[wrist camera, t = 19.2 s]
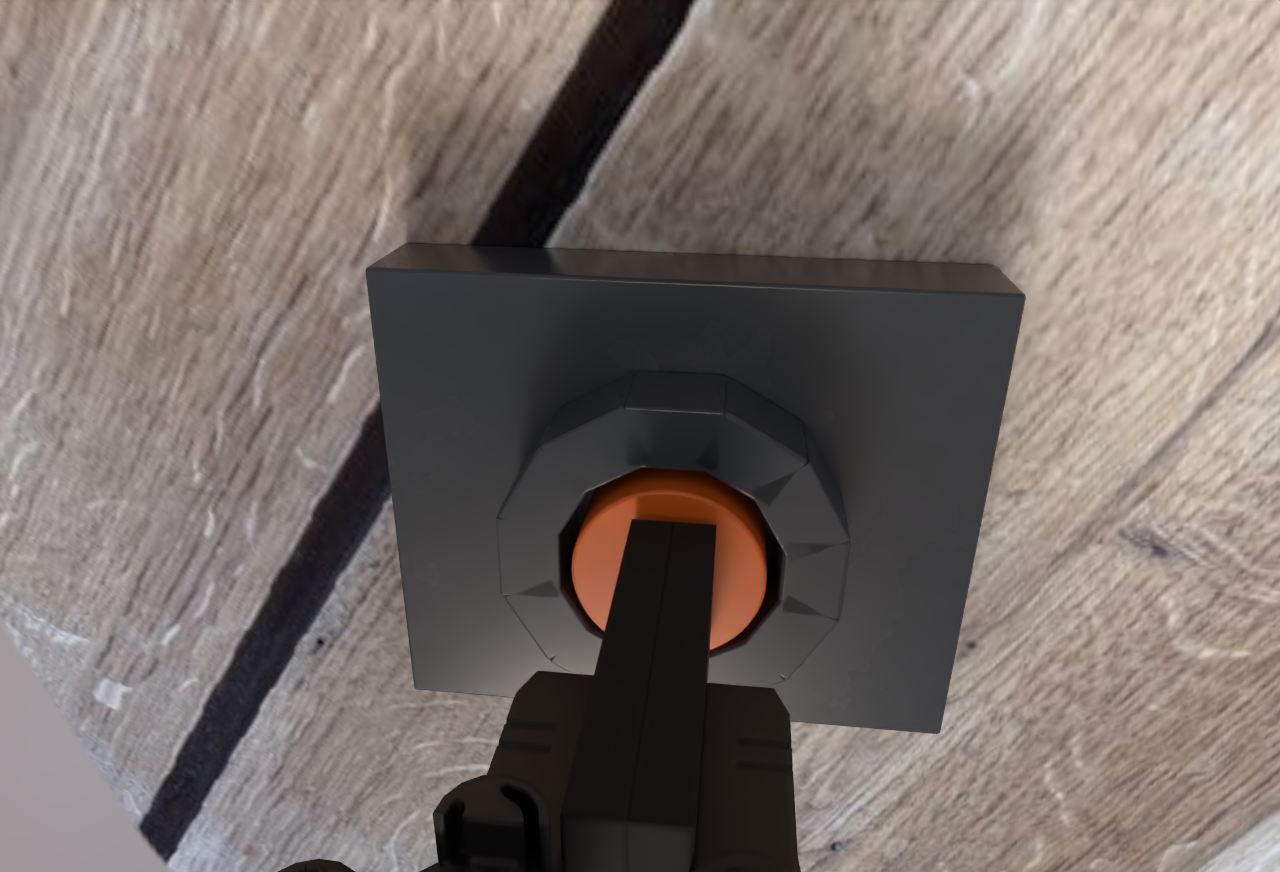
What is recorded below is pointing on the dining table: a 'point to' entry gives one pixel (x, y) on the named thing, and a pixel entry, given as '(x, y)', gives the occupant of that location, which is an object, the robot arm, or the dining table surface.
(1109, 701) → the dining table surface
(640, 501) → the button
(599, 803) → the robot arm
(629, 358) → the station
